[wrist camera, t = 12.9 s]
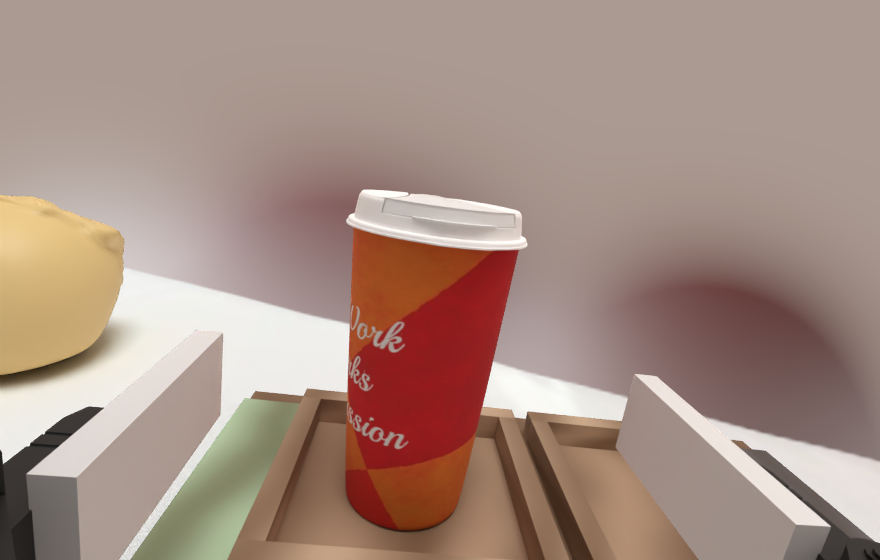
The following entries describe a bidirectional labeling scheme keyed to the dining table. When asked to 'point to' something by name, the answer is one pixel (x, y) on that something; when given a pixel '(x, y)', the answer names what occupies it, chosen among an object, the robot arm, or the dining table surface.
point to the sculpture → (53, 282)
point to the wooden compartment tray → (448, 543)
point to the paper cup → (421, 348)
